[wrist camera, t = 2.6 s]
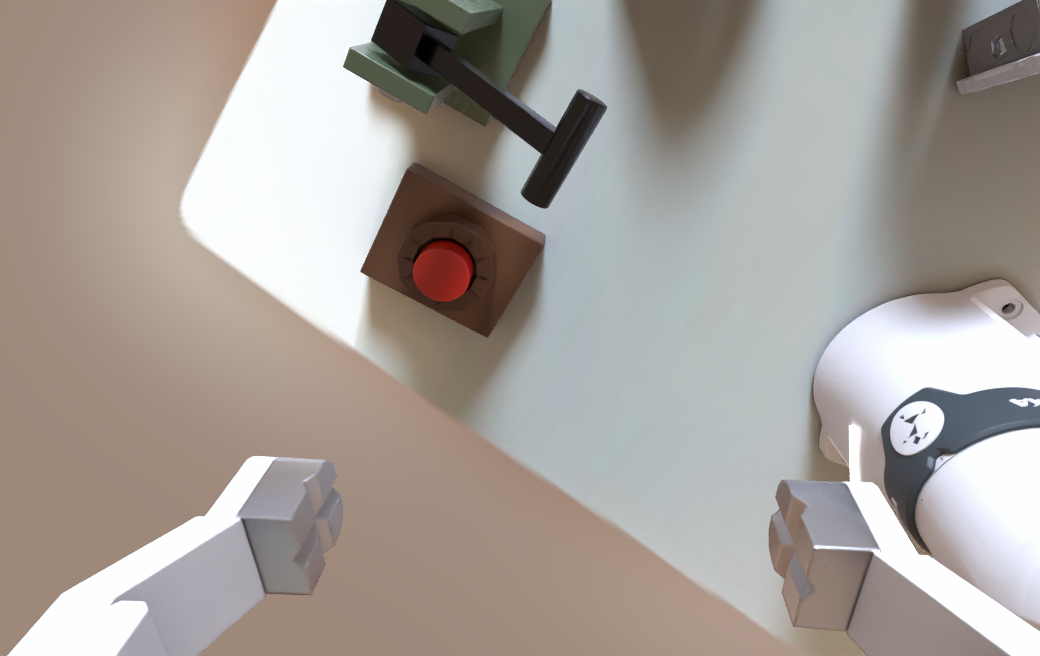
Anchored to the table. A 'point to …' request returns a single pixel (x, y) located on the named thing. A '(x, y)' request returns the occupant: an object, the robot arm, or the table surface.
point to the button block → (467, 222)
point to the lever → (491, 95)
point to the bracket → (481, 41)
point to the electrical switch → (1003, 47)
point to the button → (443, 271)
